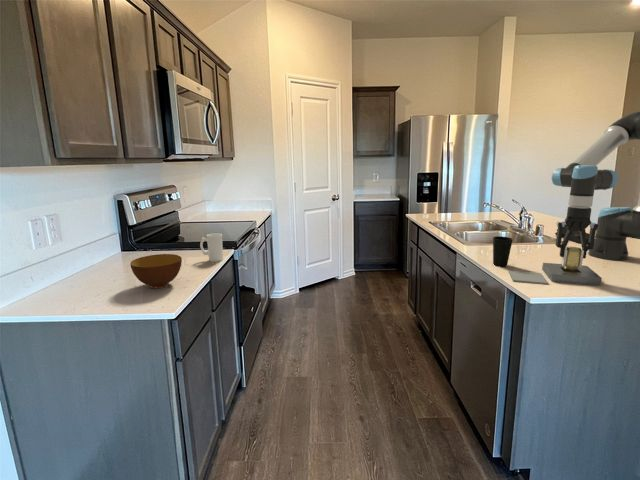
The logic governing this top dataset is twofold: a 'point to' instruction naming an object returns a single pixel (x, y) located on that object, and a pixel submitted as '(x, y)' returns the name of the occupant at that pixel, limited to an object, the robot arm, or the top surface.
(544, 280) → the mat
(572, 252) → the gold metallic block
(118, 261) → the top surface
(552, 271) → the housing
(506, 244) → the cup
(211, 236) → the mug
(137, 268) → the bowl
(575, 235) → the black flashlight
